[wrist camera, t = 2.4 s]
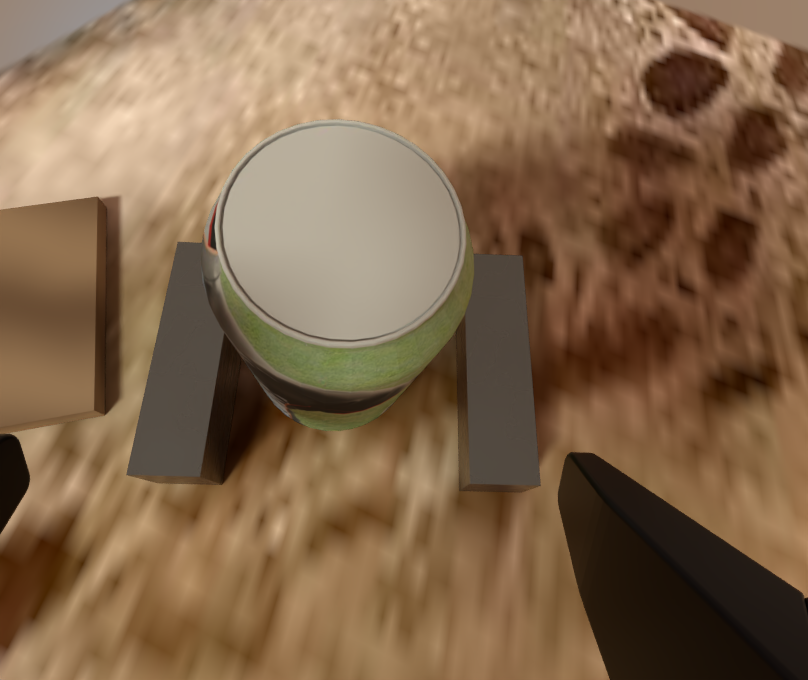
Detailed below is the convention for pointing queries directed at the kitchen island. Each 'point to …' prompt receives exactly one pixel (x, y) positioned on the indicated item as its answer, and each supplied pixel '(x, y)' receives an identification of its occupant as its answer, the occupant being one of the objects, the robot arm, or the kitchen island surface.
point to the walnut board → (52, 313)
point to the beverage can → (337, 268)
